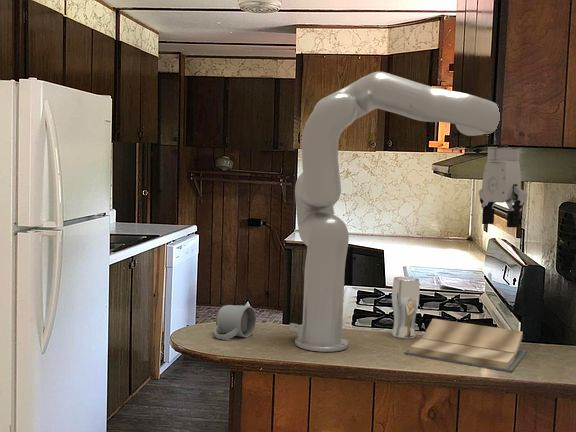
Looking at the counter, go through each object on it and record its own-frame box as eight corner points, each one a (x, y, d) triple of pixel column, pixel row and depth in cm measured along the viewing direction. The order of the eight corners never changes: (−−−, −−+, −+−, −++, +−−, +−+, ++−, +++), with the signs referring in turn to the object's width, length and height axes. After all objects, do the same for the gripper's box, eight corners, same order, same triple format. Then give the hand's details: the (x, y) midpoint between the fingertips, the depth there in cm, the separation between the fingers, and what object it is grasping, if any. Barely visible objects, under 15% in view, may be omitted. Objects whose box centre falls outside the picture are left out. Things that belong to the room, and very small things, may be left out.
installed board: (409, 352, 152) (409, 346, 152) (421, 344, 160) (421, 338, 160) (507, 369, 142) (507, 362, 142) (514, 359, 149) (515, 353, 149)
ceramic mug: (229, 329, 170) (229, 300, 169) (256, 334, 166) (257, 304, 165) (205, 338, 160) (206, 307, 160) (233, 343, 156) (234, 311, 156)
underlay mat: (404, 354, 152) (404, 352, 152) (429, 337, 170) (429, 335, 170) (511, 372, 141) (511, 370, 141) (526, 352, 158) (526, 350, 158)
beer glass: (419, 339, 166) (422, 281, 166) (392, 338, 167) (394, 280, 166) (414, 333, 173) (417, 277, 172) (388, 332, 174) (391, 276, 173)
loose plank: (422, 343, 161) (422, 338, 160) (432, 323, 168) (432, 318, 167) (515, 358, 150) (515, 352, 150) (522, 336, 158) (522, 331, 157)
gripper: (469, 156, 169) (466, 222, 170) (513, 155, 153) (510, 228, 154) (494, 157, 172) (491, 222, 173) (539, 156, 156) (536, 228, 157)
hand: (500, 225), depth 164 cm, fingers open, 9 cm apart
